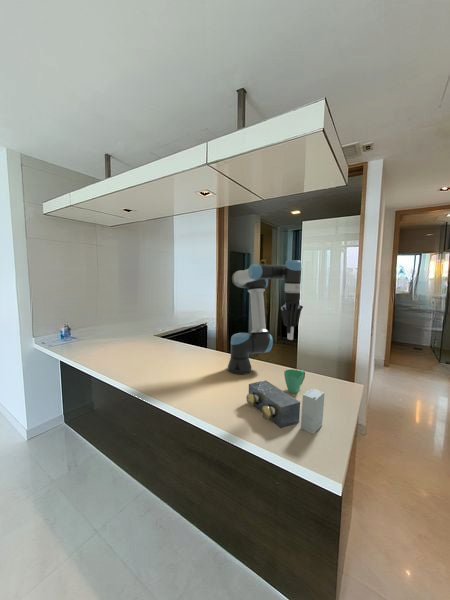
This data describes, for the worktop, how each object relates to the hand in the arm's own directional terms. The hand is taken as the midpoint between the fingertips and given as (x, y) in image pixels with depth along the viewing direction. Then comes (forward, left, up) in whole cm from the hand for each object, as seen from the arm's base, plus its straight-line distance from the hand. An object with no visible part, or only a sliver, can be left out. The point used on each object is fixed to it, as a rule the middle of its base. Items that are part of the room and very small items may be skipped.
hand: (290, 339), depth 131 cm
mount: (+9, -17, -29) cm, 35 cm away
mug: (-3, +8, -30) cm, 31 cm away
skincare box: (+26, -10, -30) cm, 41 cm away
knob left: (+3, -19, -27) cm, 34 cm away
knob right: (+15, -19, -27) cm, 37 cm away
